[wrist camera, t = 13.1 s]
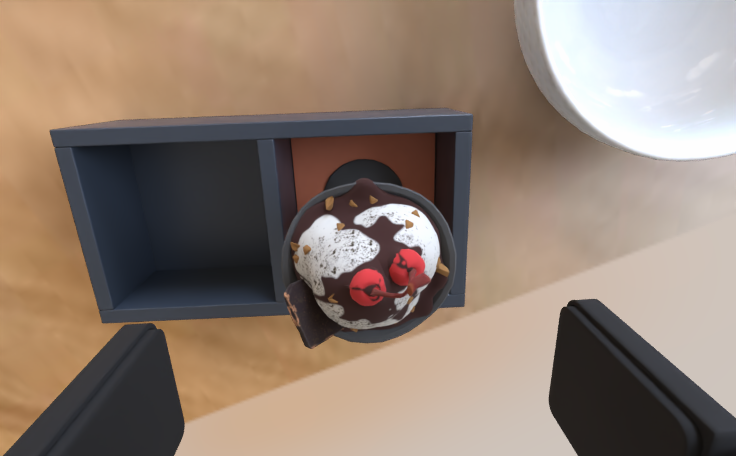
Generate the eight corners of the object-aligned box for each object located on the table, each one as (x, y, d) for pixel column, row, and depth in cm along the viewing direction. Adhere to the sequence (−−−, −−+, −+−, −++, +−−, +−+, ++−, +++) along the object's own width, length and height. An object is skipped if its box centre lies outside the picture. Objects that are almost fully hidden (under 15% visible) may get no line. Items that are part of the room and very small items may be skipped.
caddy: (442, 262, 28) (464, 307, 22) (153, 275, 28) (101, 324, 22) (446, 107, 25) (473, 113, 19) (119, 120, 25) (48, 129, 19)
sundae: (422, 144, 24) (516, 224, 10) (414, 251, 26) (482, 440, 12) (309, 140, 24) (242, 217, 10) (309, 248, 26) (256, 439, 12)
